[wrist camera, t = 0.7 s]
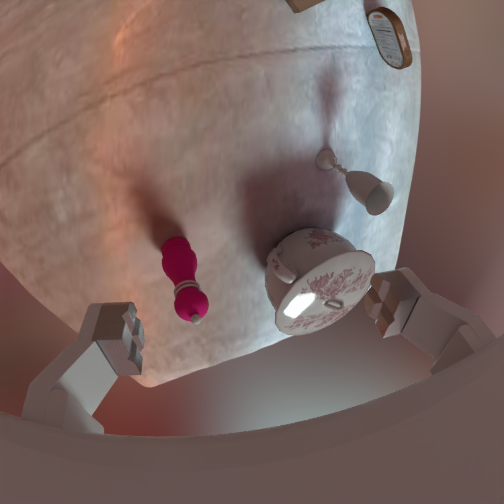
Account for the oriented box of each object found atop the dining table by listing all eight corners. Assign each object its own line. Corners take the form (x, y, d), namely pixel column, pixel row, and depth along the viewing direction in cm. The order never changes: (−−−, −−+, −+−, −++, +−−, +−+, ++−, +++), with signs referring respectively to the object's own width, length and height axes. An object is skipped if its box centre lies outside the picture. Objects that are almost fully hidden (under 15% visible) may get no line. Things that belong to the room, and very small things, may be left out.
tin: (390, 63, 45) (417, 70, 40) (381, 67, 46) (409, 74, 40) (369, 6, 35) (398, 7, 29) (359, 9, 35) (389, 9, 29)
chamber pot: (335, 269, 85) (373, 317, 70) (254, 303, 80) (285, 361, 65) (342, 193, 66) (398, 243, 51) (238, 228, 61) (279, 297, 46)
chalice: (342, 155, 58) (398, 193, 46) (325, 178, 61) (377, 220, 48) (324, 139, 54) (383, 174, 41) (306, 163, 56) (359, 205, 43)
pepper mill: (162, 234, 54) (179, 309, 40) (195, 236, 58) (223, 308, 44) (157, 261, 58) (173, 337, 44) (188, 262, 61) (212, 334, 47)
